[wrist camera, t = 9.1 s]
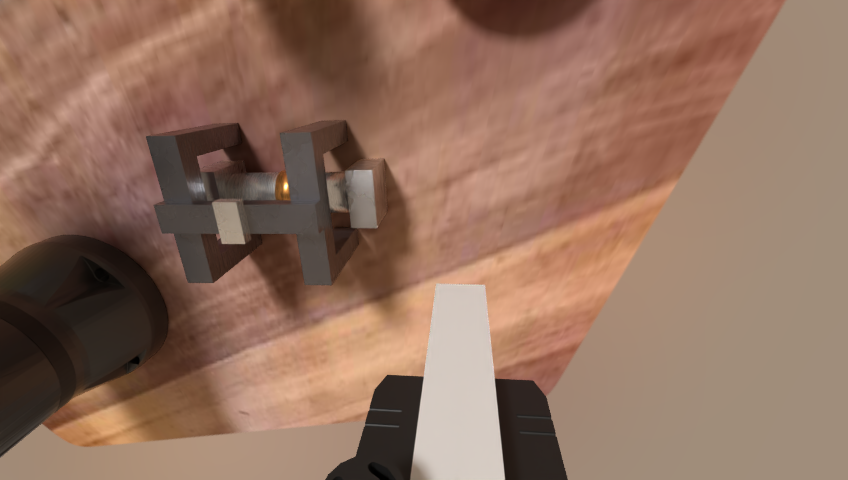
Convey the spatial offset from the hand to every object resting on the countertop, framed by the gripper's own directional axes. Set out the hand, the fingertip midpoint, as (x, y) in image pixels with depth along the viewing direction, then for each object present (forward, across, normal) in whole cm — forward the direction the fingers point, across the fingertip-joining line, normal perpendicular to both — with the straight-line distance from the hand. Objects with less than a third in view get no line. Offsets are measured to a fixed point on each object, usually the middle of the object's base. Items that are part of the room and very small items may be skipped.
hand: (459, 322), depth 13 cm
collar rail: (+21, -15, -1) cm, 26 cm away
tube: (+21, -13, -1) cm, 25 cm away
